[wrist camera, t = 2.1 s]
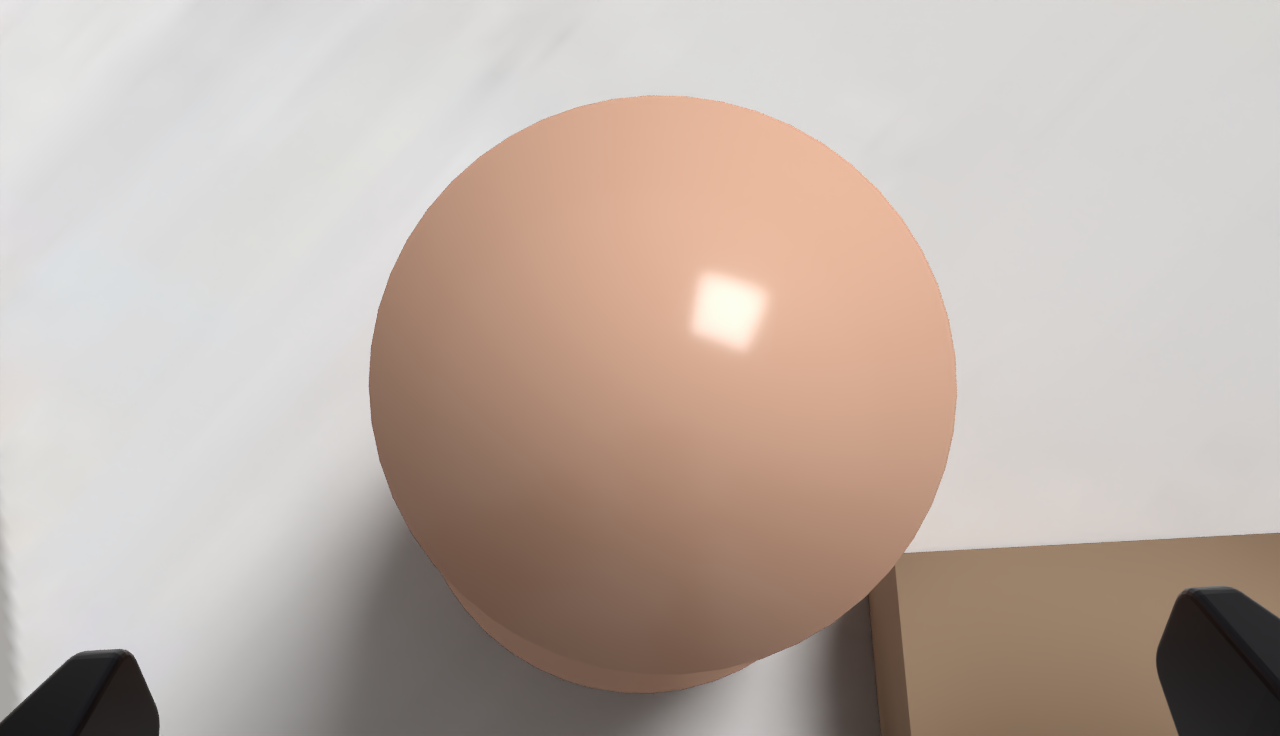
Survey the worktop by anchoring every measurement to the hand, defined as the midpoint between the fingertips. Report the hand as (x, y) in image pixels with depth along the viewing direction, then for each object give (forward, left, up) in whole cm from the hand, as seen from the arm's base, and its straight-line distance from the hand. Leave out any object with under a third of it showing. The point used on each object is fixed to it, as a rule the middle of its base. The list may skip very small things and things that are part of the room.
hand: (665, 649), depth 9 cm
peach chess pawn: (+2, 0, -10) cm, 10 cm away
